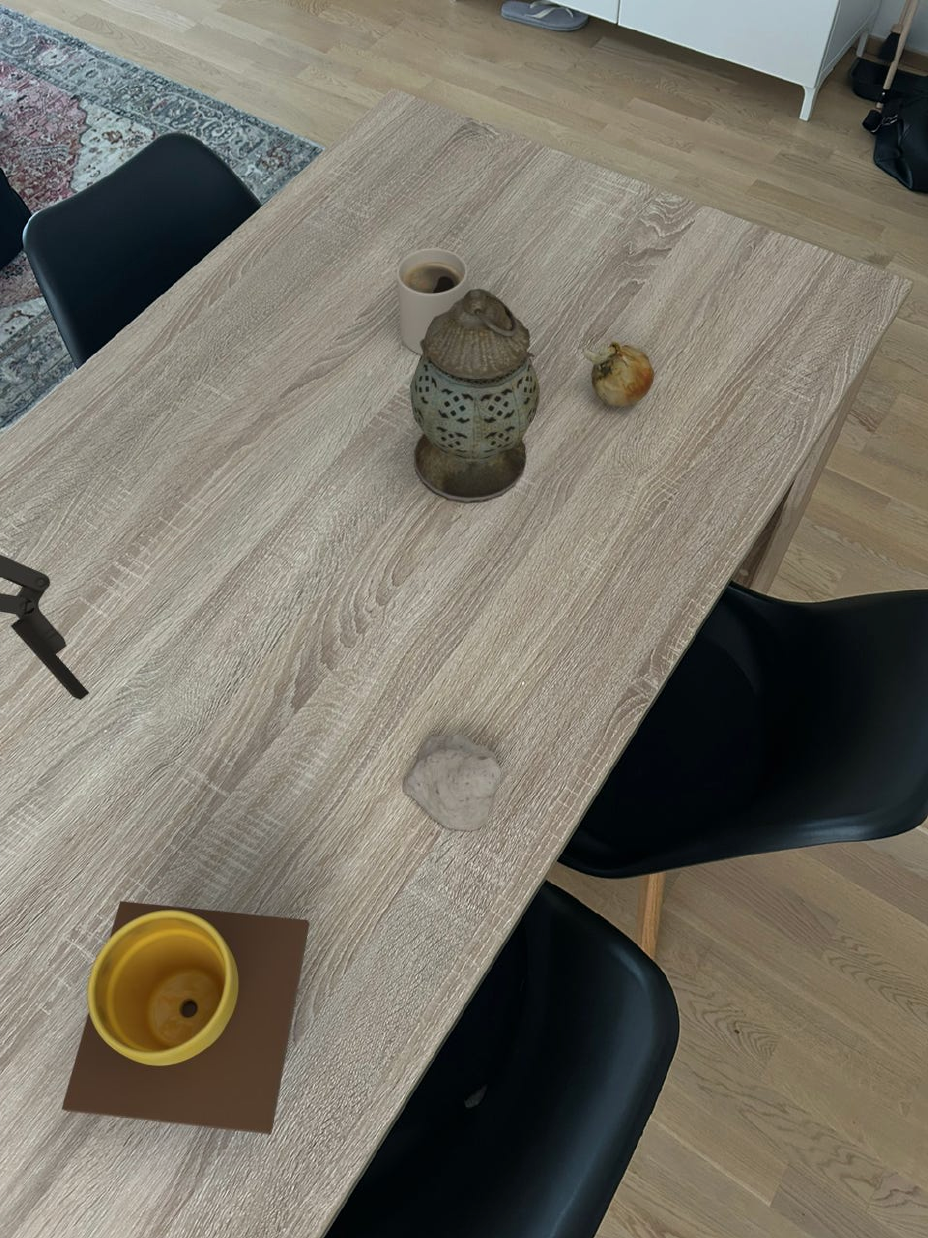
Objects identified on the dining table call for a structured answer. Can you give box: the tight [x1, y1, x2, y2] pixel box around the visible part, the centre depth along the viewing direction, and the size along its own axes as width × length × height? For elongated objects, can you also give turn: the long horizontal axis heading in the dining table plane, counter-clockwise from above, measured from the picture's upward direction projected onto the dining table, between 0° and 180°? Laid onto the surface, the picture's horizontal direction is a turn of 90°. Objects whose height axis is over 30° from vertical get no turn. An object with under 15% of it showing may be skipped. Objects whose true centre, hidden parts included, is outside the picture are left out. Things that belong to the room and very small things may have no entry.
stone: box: [402, 734, 503, 832], centre depth 101 cm, size 10×5×10 cm
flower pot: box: [86, 910, 238, 1066], centre depth 78 cm, size 10×10×10 cm
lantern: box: [409, 288, 541, 504], centre depth 114 cm, size 14×14×25 cm
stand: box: [61, 900, 310, 1136], centre depth 86 cm, size 16×16×9 cm
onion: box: [582, 341, 655, 407], centre depth 127 cm, size 8×8×8 cm
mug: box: [395, 247, 469, 356], centre depth 133 cm, size 11×10×10 cm
